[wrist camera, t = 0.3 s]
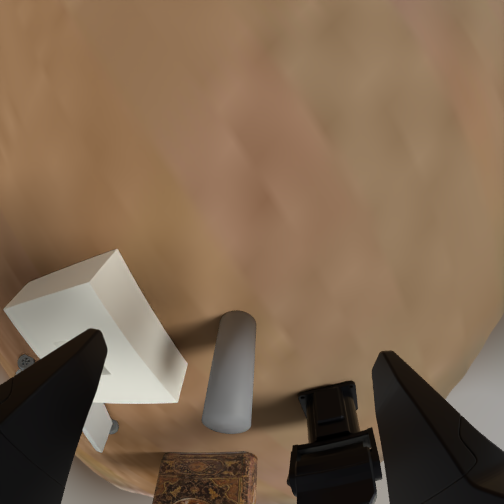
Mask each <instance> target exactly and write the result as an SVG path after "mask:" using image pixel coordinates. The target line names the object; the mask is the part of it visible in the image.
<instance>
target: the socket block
mask: <svg viewBox="0 0 504 504" xmlns="http://www.w3.org/2000/svg"><path fill="white" fill-rule="evenodd" d="M3 310H4V311H5V313H6V314H7V316H8V317H9V319H10V320H11V321H12V323H13V324H14V326H15V327H16V328H17V330H18V331H19V333H20V334H21V335H22V337H23V338H24V339H25V341H26V342H27V343H28V344H29V346H30V347H31V348H32V349H33V351H34V352H35V353H36V354H37V356H38V357H39V358H40V359H41V358H43V357H44V356H46V355H48V354H49V353H51V352H52V351H54V350H55V349H57V348H59V347H60V346H62V345H63V344H65V343H66V342H68V341H70V340H71V339H73V338H74V337H76V336H78V335H79V334H81V333H82V332H84V331H86V330H87V329H89V328H94V329H99V330H100V331H101V332H102V334H103V337H104V339H105V342H106V345H107V349H108V352H107V356H106V360H105V363H104V367H103V370H102V374H101V378H100V381H99V385H98V389H97V392H96V395H95V397H94V400H93V402H95V403H122V404H152V403H178V400H179V396H180V392H181V388H182V384H183V380H184V376H185V372H186V369H187V365H188V364H187V362H186V361H185V359H184V358H183V356H182V355H181V354H180V352H179V351H178V349H177V348H176V346H175V345H174V343H173V342H172V340H171V339H170V337H169V336H168V334H167V332H166V331H165V329H164V328H163V326H162V325H161V323H160V321H159V320H158V318H157V317H156V315H155V313H154V312H153V310H152V309H151V307H150V305H149V304H148V302H147V300H146V299H145V297H144V295H143V294H142V292H141V290H140V288H139V287H138V285H137V283H136V281H135V280H134V278H133V276H132V274H131V273H130V271H129V269H128V267H127V265H126V263H125V262H124V260H123V258H122V256H121V254H120V252H119V250H118V249H115V250H112V251H109V252H106V253H104V254H101V255H98V256H95V257H93V258H90V259H87V260H85V261H82V262H79V263H76V264H74V265H71V266H69V267H66V268H63V269H61V270H58V271H56V272H53V273H50V274H48V275H45V276H43V277H40V278H38V279H35V280H33V281H30V282H28V283H27V284H26V285H25V286H24V287H23V288H22V289H21V291H20V292H19V293H18V294H17V295H16V296H15V297H14V298H13V299H12V300H11V301H10V302H9V303H8V305H7V306H6V307H5V308H4V309H3Z"/></svg>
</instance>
